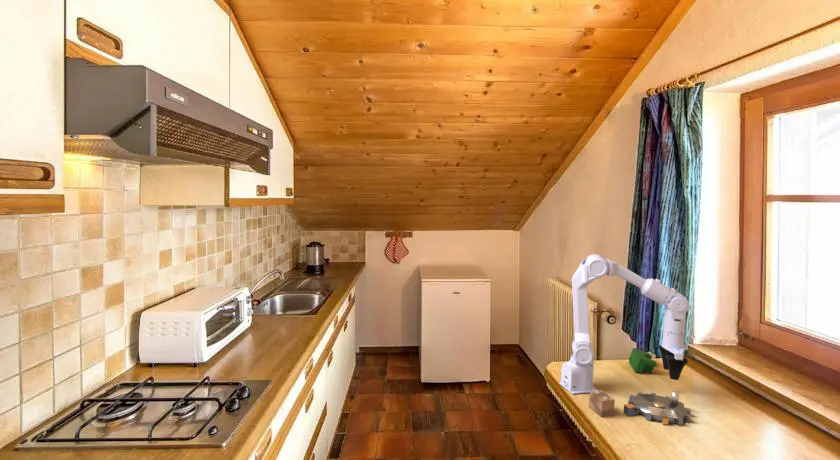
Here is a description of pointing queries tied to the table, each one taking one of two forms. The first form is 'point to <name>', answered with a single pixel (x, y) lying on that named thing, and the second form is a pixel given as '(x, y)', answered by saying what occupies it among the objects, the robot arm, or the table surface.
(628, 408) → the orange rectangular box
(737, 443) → the table surface
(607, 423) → the table surface
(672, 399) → the sprocket disc
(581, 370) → the robot arm
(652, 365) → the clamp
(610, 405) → the link block
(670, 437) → the table surface
